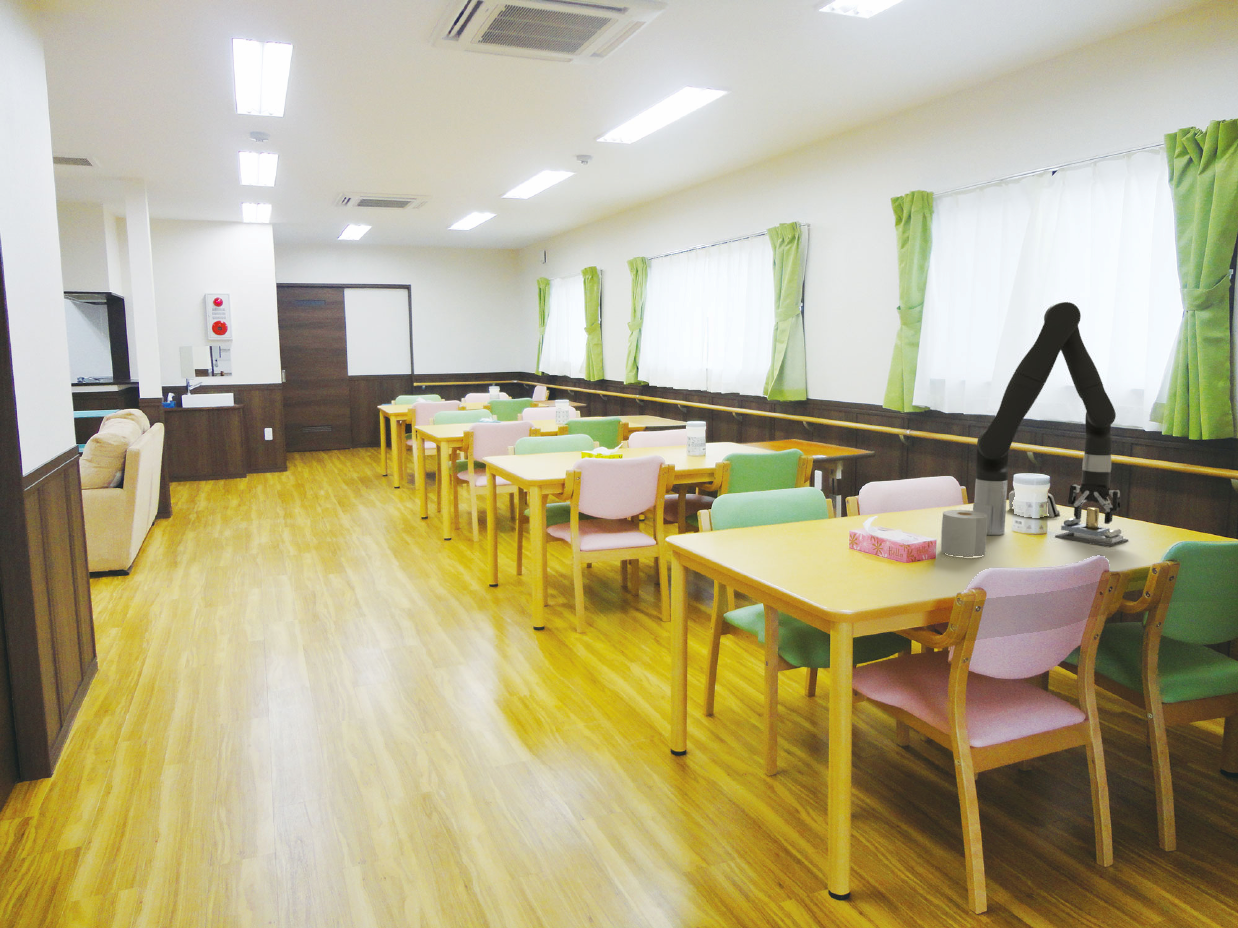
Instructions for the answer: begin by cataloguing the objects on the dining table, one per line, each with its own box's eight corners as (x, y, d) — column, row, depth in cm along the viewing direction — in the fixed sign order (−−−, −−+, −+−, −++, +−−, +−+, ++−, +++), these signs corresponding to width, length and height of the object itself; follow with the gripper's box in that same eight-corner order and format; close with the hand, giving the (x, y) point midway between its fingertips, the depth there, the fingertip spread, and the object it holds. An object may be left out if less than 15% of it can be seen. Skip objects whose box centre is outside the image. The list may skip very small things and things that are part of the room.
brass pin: (1093, 539, 249) (1096, 510, 248) (1083, 537, 252) (1085, 508, 250) (1099, 537, 251) (1101, 508, 250) (1088, 535, 254) (1090, 507, 252)
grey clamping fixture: (1111, 543, 243) (1113, 528, 243) (1060, 534, 255) (1061, 519, 255) (1122, 540, 247) (1124, 524, 247) (1072, 531, 259) (1073, 516, 259)
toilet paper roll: (955, 559, 230) (957, 519, 228) (932, 549, 242) (934, 510, 240) (994, 557, 232) (996, 517, 230) (969, 547, 244) (971, 508, 242)
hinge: (1061, 515, 285) (1057, 489, 282) (1053, 521, 283) (1048, 495, 280) (1017, 507, 300) (1013, 483, 297) (1009, 513, 298) (1004, 488, 295)
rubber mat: (1109, 547, 242) (1109, 545, 241) (1054, 536, 254) (1055, 535, 254) (1128, 541, 248) (1128, 539, 248) (1074, 531, 261) (1074, 530, 261)
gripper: (1066, 467, 252) (1062, 518, 254) (1115, 473, 240) (1111, 526, 243) (1078, 465, 256) (1074, 515, 258) (1127, 470, 245) (1123, 523, 247)
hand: (1092, 521), depth 251 cm, fingers open, 8 cm apart
